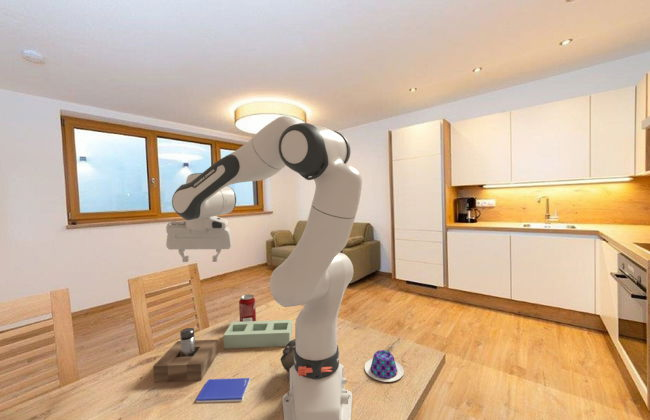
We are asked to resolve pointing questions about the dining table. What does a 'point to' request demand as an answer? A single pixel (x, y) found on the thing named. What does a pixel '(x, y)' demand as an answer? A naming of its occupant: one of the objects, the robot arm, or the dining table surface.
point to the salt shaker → (187, 342)
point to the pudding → (384, 367)
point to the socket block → (186, 362)
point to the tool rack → (258, 334)
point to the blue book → (223, 390)
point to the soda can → (247, 308)
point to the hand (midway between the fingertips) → (200, 261)
